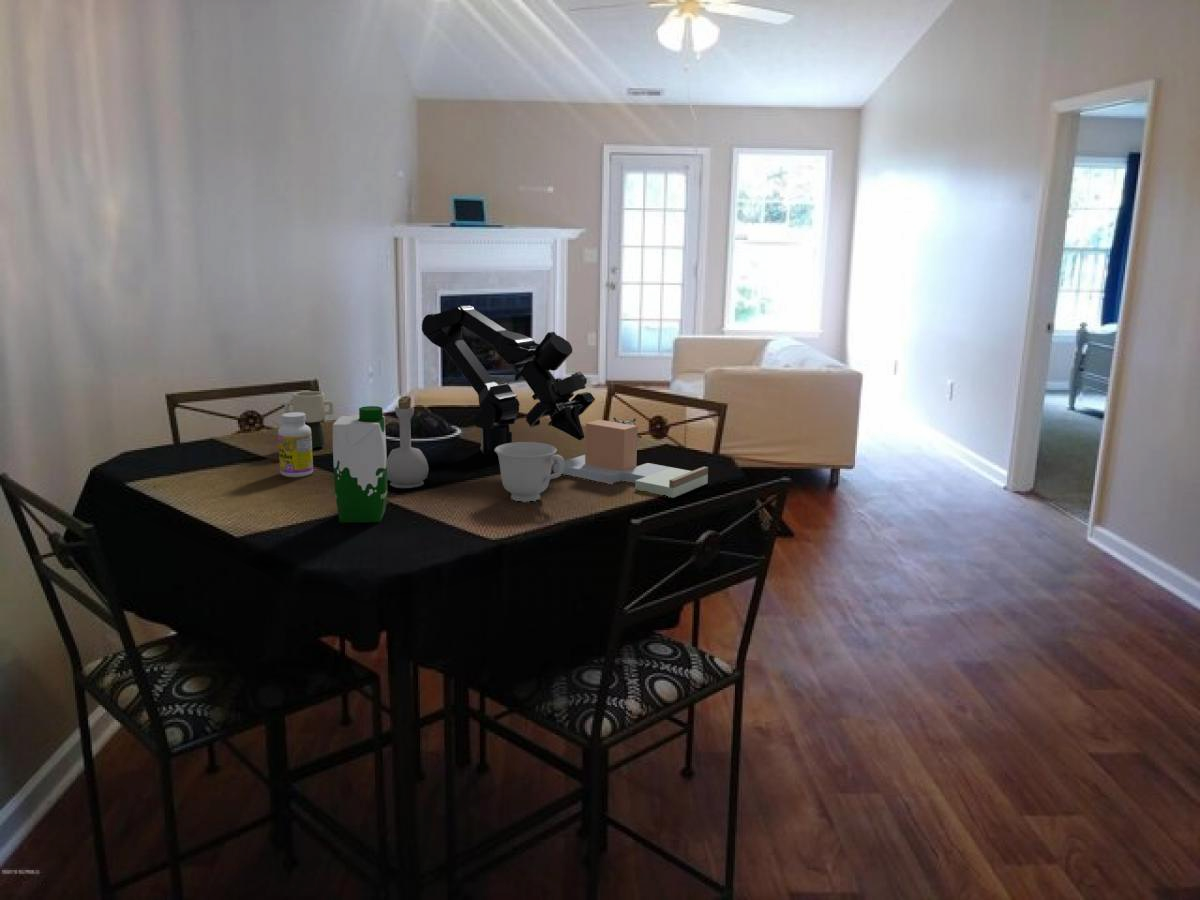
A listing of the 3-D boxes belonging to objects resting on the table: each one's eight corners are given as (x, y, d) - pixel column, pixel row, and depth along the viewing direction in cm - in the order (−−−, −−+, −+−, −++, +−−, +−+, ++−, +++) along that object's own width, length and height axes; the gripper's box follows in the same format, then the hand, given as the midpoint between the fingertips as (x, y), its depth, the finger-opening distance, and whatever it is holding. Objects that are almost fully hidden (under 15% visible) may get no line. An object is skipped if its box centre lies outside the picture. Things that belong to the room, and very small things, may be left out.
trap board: (553, 473, 201) (553, 457, 200) (591, 461, 212) (591, 446, 211) (673, 497, 184) (673, 480, 183) (707, 483, 195) (708, 467, 195)
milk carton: (384, 524, 165) (380, 413, 160) (332, 524, 164) (326, 412, 159) (391, 509, 173) (387, 403, 168) (341, 509, 172) (336, 403, 168)
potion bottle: (436, 480, 193) (434, 395, 189) (414, 491, 185) (411, 402, 181) (399, 476, 196) (396, 392, 192) (376, 487, 188) (372, 399, 184)
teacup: (545, 513, 172) (545, 461, 170) (482, 500, 180) (481, 450, 178) (580, 498, 182) (581, 449, 180) (519, 486, 190) (519, 439, 188)
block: (585, 463, 201) (585, 423, 199) (598, 459, 205) (599, 419, 203) (623, 471, 196) (624, 429, 194) (636, 466, 200) (637, 425, 198)
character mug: (335, 443, 224) (333, 390, 221) (334, 450, 217) (331, 395, 214) (288, 445, 221) (285, 391, 218) (285, 452, 215) (282, 396, 212)
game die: (628, 464, 225) (651, 430, 225) (626, 460, 216) (650, 425, 217) (598, 444, 226) (621, 410, 227) (594, 439, 218) (619, 404, 218)
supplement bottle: (274, 473, 196) (270, 413, 193) (303, 468, 201) (299, 409, 198) (290, 479, 192) (287, 418, 189) (319, 474, 196) (316, 414, 193)
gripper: (536, 365, 195) (578, 423, 192) (588, 356, 210) (628, 410, 207) (508, 397, 202) (548, 454, 198) (561, 387, 217) (598, 440, 213)
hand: (582, 439), depth 204 cm, fingers closed
